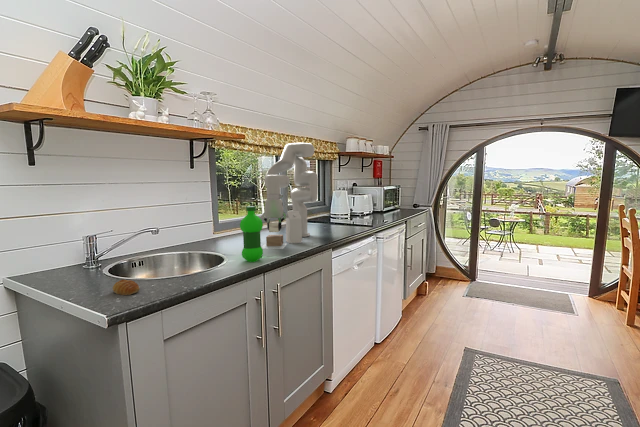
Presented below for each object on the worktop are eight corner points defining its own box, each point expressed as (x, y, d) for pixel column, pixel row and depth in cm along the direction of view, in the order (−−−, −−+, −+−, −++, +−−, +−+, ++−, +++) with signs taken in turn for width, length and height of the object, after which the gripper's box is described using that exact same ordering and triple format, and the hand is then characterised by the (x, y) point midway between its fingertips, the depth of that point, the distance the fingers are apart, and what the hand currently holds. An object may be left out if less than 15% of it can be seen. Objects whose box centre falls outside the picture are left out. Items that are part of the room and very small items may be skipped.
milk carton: (286, 243, 200) (285, 211, 198) (297, 242, 202) (296, 210, 201) (290, 245, 193) (289, 211, 191) (302, 244, 196) (301, 211, 194)
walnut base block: (269, 243, 194) (269, 234, 194) (283, 243, 194) (283, 234, 193) (266, 246, 186) (266, 237, 186) (280, 246, 186) (280, 237, 185)
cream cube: (271, 230, 192) (270, 222, 191) (279, 230, 191) (279, 221, 191) (269, 232, 187) (268, 223, 186) (278, 232, 186) (277, 223, 186)
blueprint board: (265, 245, 195) (265, 243, 195) (287, 244, 194) (287, 243, 194) (258, 250, 179) (258, 248, 179) (283, 250, 178) (283, 248, 178)
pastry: (145, 291, 115) (144, 280, 114) (125, 298, 109) (124, 286, 109) (130, 287, 120) (129, 277, 119) (110, 293, 114) (109, 282, 114)
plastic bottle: (236, 261, 155) (234, 207, 152) (251, 257, 164) (249, 205, 161) (254, 264, 150) (252, 207, 148) (268, 259, 159) (266, 206, 157)
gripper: (289, 196, 190) (290, 229, 192) (260, 197, 191) (261, 229, 193) (287, 197, 183) (288, 230, 185) (256, 197, 184) (257, 231, 186)
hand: (274, 229), depth 189 cm, fingers closed on cream cube, 5 cm apart
